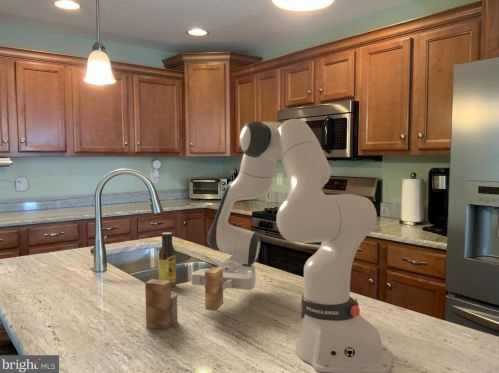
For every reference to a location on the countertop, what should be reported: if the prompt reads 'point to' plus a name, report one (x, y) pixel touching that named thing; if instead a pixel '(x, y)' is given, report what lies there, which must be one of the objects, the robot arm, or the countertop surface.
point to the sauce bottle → (167, 259)
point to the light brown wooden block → (213, 288)
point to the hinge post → (160, 304)
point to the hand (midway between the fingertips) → (214, 286)
